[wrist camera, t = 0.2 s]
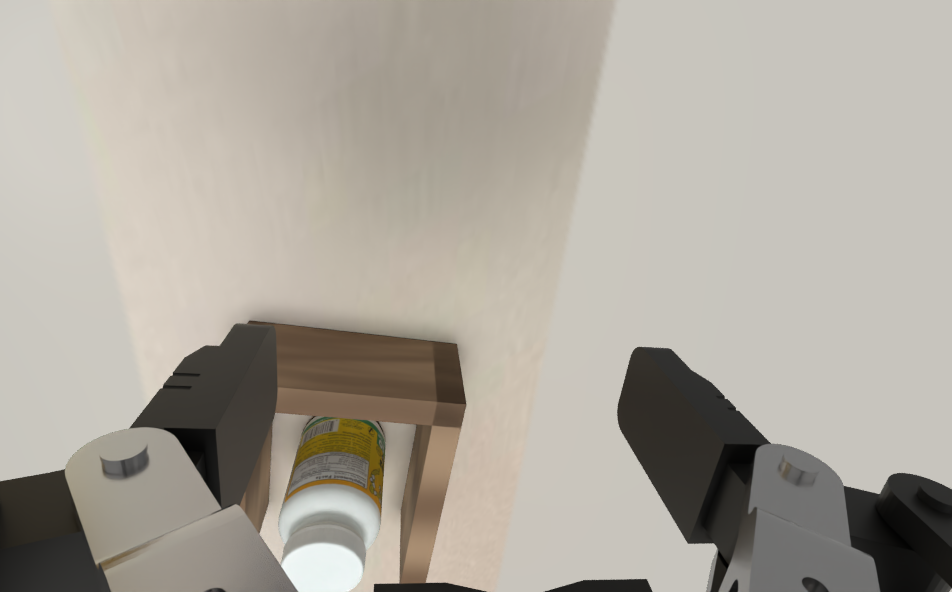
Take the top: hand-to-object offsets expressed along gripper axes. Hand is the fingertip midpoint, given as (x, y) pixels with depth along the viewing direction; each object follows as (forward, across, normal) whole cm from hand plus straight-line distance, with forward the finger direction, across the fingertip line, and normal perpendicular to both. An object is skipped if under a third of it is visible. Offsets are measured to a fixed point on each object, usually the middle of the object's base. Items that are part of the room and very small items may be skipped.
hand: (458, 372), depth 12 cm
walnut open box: (+18, +4, +15) cm, 24 cm away
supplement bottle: (+19, +4, +16) cm, 25 cm away
